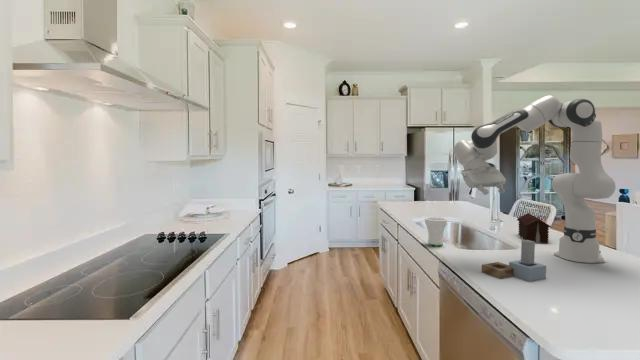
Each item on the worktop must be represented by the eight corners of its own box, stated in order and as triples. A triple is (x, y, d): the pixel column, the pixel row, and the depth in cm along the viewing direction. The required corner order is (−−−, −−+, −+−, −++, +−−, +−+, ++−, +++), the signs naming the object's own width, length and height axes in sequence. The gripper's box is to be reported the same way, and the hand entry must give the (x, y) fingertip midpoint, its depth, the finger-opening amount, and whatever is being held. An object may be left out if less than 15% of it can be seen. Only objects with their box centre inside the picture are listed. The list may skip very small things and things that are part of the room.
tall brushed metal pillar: (520, 275, 141) (521, 240, 140) (526, 274, 142) (527, 239, 141) (528, 278, 138) (529, 242, 137) (533, 276, 139) (534, 241, 138)
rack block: (508, 274, 142) (509, 262, 142) (524, 271, 146) (524, 259, 146) (529, 281, 134) (530, 268, 134) (545, 278, 138) (546, 265, 137)
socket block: (481, 271, 146) (481, 264, 146) (497, 268, 149) (497, 261, 149) (500, 278, 137) (500, 271, 137) (517, 275, 141) (517, 268, 141)
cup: (420, 243, 193) (420, 217, 192) (437, 241, 197) (437, 216, 196) (433, 248, 182) (433, 221, 181) (451, 246, 186) (451, 219, 185)
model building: (550, 244, 190) (551, 216, 189) (525, 242, 194) (526, 215, 193) (538, 235, 210) (539, 210, 209) (516, 234, 213) (517, 209, 212)
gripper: (463, 165, 154) (480, 189, 146) (497, 164, 162) (516, 187, 154) (455, 174, 158) (472, 199, 150) (489, 173, 166) (506, 196, 158)
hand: (494, 193), depth 152 cm, fingers open, 8 cm apart
